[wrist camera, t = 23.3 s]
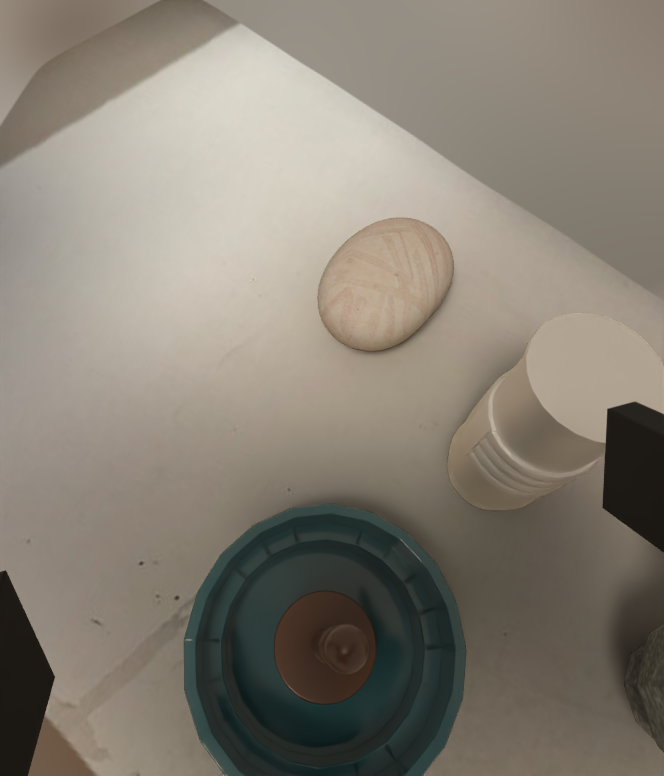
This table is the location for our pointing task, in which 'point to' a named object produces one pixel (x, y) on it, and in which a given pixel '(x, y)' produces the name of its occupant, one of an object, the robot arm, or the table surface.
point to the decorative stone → (385, 283)
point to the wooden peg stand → (325, 647)
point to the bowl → (259, 671)
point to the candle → (552, 411)
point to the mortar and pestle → (648, 685)
